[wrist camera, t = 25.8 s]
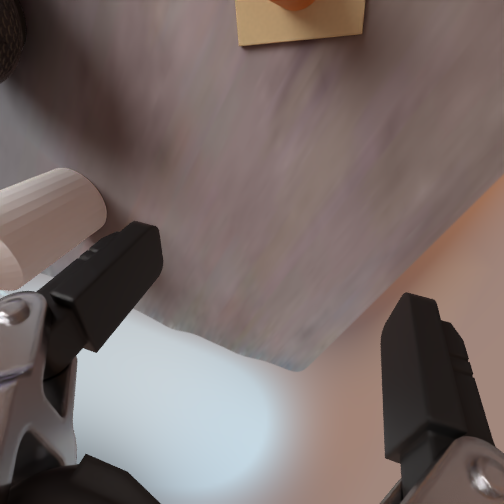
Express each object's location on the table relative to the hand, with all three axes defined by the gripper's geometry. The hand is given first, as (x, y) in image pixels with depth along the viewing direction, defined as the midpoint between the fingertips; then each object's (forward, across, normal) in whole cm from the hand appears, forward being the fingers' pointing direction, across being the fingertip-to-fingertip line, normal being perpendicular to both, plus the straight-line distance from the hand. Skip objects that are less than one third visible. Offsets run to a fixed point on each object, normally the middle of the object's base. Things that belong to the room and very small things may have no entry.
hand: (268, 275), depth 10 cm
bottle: (+27, +38, +21) cm, 51 cm away
